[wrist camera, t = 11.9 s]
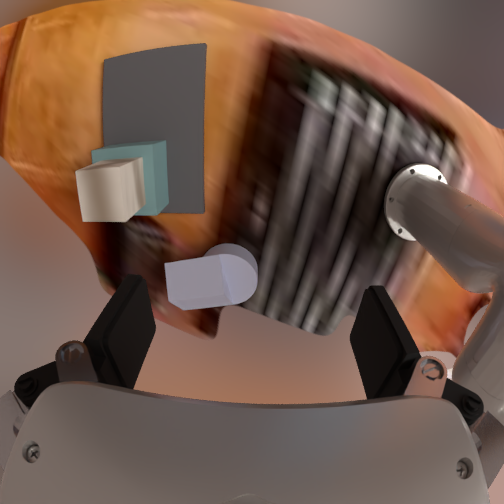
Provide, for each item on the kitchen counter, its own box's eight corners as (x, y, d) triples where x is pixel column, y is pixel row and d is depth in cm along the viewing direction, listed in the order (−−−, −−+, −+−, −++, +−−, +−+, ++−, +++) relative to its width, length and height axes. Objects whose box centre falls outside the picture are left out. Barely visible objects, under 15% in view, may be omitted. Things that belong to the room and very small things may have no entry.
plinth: (166, 140, 33) (152, 144, 29) (169, 203, 38) (157, 215, 33) (109, 145, 33) (91, 150, 29) (114, 203, 38) (98, 215, 33)
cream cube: (142, 157, 30) (119, 166, 24) (145, 203, 32) (125, 221, 27) (101, 160, 30) (75, 171, 24) (106, 204, 33) (82, 221, 27)
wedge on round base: (187, 298, 47) (262, 288, 45) (178, 323, 41) (262, 314, 39) (170, 252, 43) (251, 238, 41) (157, 275, 37) (249, 261, 35)
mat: (206, 45, 28) (205, 43, 27) (204, 211, 39) (203, 213, 38) (107, 60, 28) (104, 59, 27) (113, 210, 39) (110, 212, 38)
